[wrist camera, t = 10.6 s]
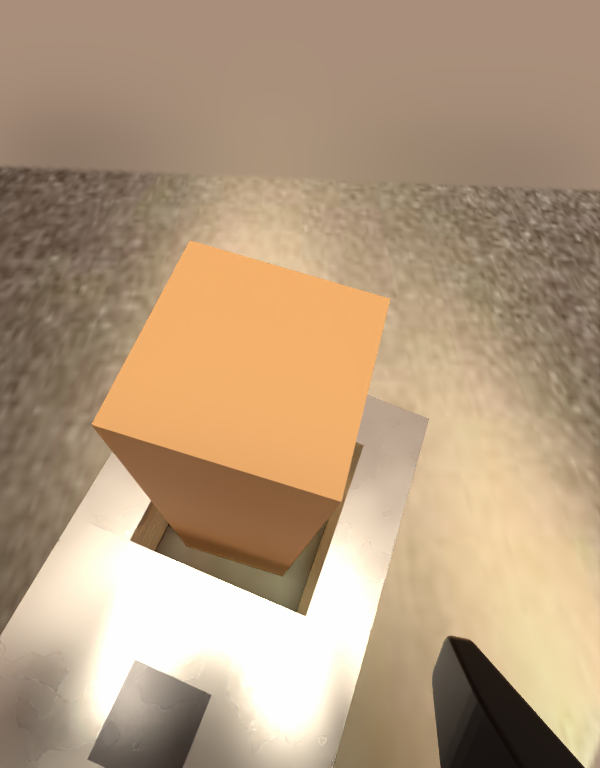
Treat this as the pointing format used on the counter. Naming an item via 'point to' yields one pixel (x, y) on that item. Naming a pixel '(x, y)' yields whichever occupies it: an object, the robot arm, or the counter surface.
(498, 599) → the counter surface
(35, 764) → the white peg board
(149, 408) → the orange post
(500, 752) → the robot arm
